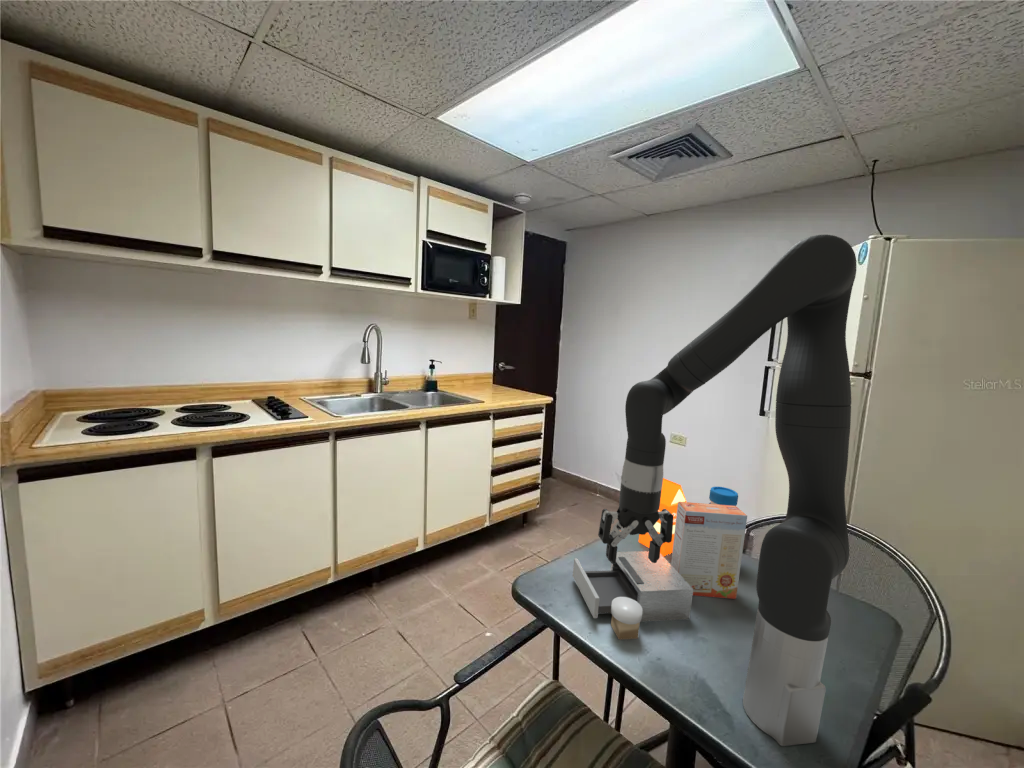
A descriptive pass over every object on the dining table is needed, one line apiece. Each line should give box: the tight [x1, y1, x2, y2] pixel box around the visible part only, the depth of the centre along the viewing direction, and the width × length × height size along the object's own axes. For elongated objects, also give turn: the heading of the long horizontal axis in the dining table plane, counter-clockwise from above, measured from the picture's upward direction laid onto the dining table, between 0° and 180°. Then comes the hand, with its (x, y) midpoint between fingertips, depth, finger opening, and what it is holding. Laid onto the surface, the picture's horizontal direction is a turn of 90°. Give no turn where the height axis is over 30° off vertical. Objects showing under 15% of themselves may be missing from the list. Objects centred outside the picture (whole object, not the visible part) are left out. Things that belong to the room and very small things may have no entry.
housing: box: [610, 550, 694, 623], centre depth 94 cm, size 15×12×7 cm
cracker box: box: [670, 501, 748, 600], centre depth 98 cm, size 14×6×21 cm, turn 87°
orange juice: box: [638, 477, 688, 557], centre depth 117 cm, size 8×9×20 cm
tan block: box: [610, 614, 641, 640], centre depth 83 cm, size 4×4×4 cm
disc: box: [610, 597, 643, 624], centre depth 83 cm, size 6×6×2 cm
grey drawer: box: [572, 557, 638, 619], centre depth 93 cm, size 15×12×4 cm
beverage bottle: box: [708, 486, 739, 507], centre depth 111 cm, size 8×8×20 cm
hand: (632, 561), depth 81 cm, fingers open, 8 cm apart
